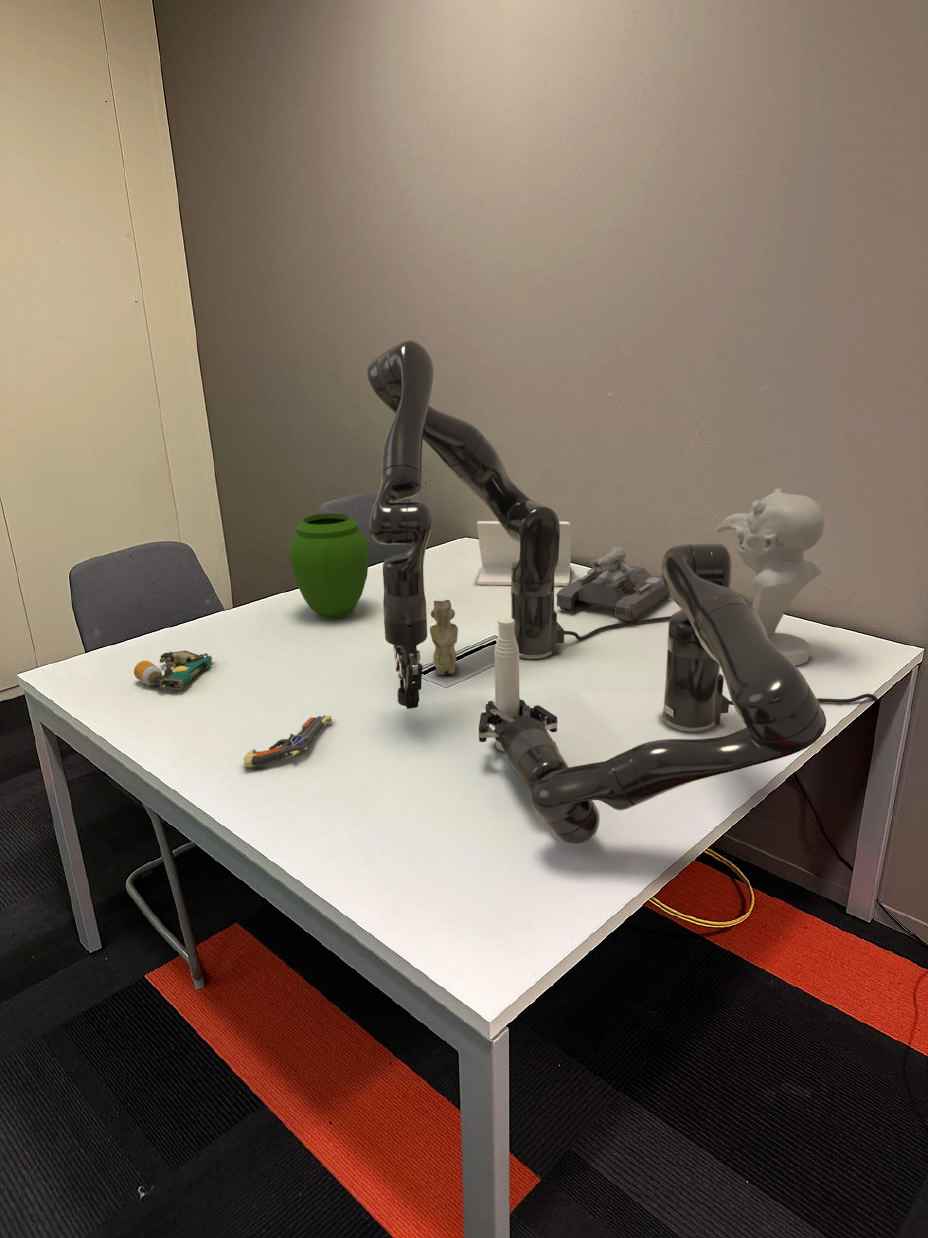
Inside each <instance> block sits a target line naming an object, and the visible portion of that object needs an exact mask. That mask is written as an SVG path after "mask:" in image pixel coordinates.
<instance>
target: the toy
mask: <svg viewBox="0 0 928 1238" xmlns="http://www.w3.org/2000/svg"><path fill="white" fill-rule="evenodd" d="M626 557H627V556H626V551H625V549H624V548H622V547H621V546H614V547H612V548H611V549H610V550H609V552H608V553H607V554H605V555H604V556H601V557H599V558H598V559H597V557H596V558H594V559H593V560H592V561H590V562H589V563H590V564H591V565H592V567H591V568H590V569H589V570H587V573H586V575H584V576H582V577H580V578H578V579H577V580H575V581H573V582H570V583H569V585H567V586H563V587H562V588H560V589H559V590H558V591H557V592H556V607H558V608H559V609H560V610H562V611H566V612H572V613H575V612H577V611H579V610H581V609H582V608H585V607H586V606H588V605H592V606H598V607H602V608H603V607H604V608H609V609H613V610H614V618H615V619H617V620H618V621H621V622H632V623H633V621H635V620H640V619H641V618H642V617H644V616H645V615H647V614H648V613H650V612H651V611H652V610H654V609H655V608H657V607H659V606H660V605H661V604H663V603H664V602H666V601H667V600H669V598H670V597H671V596H670V594H669V593H668V591H667V589H666V586H665V584H664V581H663V576H662V575H656V576H655V577H654V576H651V574H650V573H649V572H648V571H647V570H646V568H644V567H641V566H635V565H629V564H628V563H627V562H626V561H625V559H626Z"/></svg>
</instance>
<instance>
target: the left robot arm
mask: <svg viewBox="0 0 928 1238" xmlns="http://www.w3.org/2000/svg"><path fill="white" fill-rule="evenodd" d="M366 377H367V381H368V383H369V385H370V388H371V389H372V391H373V393H375V394H376V396H377V397H378V398H379V399H380V401H381V402H383V403H384V404H385V405H386V406H387V407H388V408H389V409H390V410H391V411H392V412H393V413H395V415H394V417H393V420H392V421H391V425H390V427H389V430H388V431H387V434H386V437H385V439H384V442H383V446H382V452H381V469H380V470H381V471H380V472H381V473H380V483H379V489H378V493H377V496H376V499H375V502H374V504H373V507H372V508H371V512H370V516H369V520H368V530H369V534H370V536H371V537H372V539H373V540H374V541H375V542H376V543H377V544H379V545H411V548H410V549H409V550H407V551H405V552H403V553H400V554H395V555H392V556H389V557H387V558H386V559H385V560H383V564H382V580H383V582H382V583H383V599H382V600H383V603H382V605H383V623H384V625H383V626H384V638H385V641H386V642H387V643H388V644H390V645H392V646H393V654H394V661H395V663H394V664H395V671H396V673H397V677H398V680H399V688H400V687H402V686H404V689H405V704H406V706H405V707H406V709H408V710H410V709H411V710H412V709H417V708H418V707H419V702H418V690H419V691H422V682H423V681H422V680H423V679H422V678H423V668H424V667H423V664H422V663H420V660H421V652H420V650H419V649H417V646H418V645H420V644H423V643H424V642H425V641H426V640H427V639H428V618H427V616H428V615H427V600H426V593H425V583H424V582H425V579H424V578H425V577H424V574H425V573H424V572H425V571H424V568H425V567H424V565H425V564H424V563H425V555H426V550H427V547H428V542H429V538H430V535H431V531H432V527H433V515H432V513H431V510H430V508H429V506H427V505H426V504H425V503H423V502H418V501H416V502H415V501H413V502H400V501H403V500H407V499H411V498H413V497H415V496H417V495H418V494H420V492H421V489H422V482H423V481H422V478H423V477H422V475H423V472H422V471H423V470H422V469H423V464H422V463H423V462H422V461H423V441H424V442H425V443H426V444H427V445H428V446H429V447H430V448H431V449H432V450H433V451H434V452H435V453H436V455H437V456H438V457H439V459H441V460H442V462H443V463H444V464H445V466H447V467H448V468H449V470H450V471H451V472H452V473H453V474H454V475H455V476H456V477H457V479H459V480H460V481H461V482H462V483H463V484H464V485H465V487H467V488H468V489H469V490H470V491H471V492H472V493H473V494H474V495H475V496H476V497H477V498H479V500H481V501H482V502H483V503H484V504H485V505H486V507H487V508H488V509H489V510H490V512H491V513H492V514H493V516H494V517H495V518H496V521H499V522H500V524H501V525H502V527H503V528H504V530H505V531H506V532H507V534H508V535H509V536H510V537H511V538H512V539H513V540H515V541H516V542H518V543H520V556H519V560H518V561H516V562H514V563H513V564H512V566H511V585H510V588H511V589H510V597H511V599H510V603H511V604H510V606H511V607H510V609H511V610H510V615H511V617H510V618H512V619H514V621H515V625H514V636H515V637H516V640H517V644H518V648H519V658H521V659H525V660H526V659H527V660H540V659H545V658H548V657H550V656H552V655H557V654H558V653H557V650H558V649H557V648H558V647H557V645H558V644H559V645H560V644H561V645H562V644H565V636H574V637H575V639H576V640H577V641H584V640H586V639H589V638H590V637H592V636H594V635H596V634H597V633H600V632H602V631H606V630H609V629H614V628H615V629H616V628H620V627H625V626H632V625H637V624H645V623H646V624H647V623H654V622H661V621H669V620H670V617H671V616H672V615H668V616H661V617H653V618H643V619H638V620H635V621H633V623H632V622H625V621H622V622H618V623H612V624H608V625H603V626H601V627H598V628H595V629H594V630H592V631H590V632H588V633H587V634H585V635H583V636H580V635H579V633H577V632H576V631H571V630H565V629H564V628H563V626H561V625H560V623H559V622H558V613H557V612H556V611H555V586H554V572H555V569H556V566H557V564H558V557H559V541H560V524H559V522H560V520H559V517H558V514H557V513H556V512H555V510H554V509H552V508H551V507H549V506H547V505H544V504H542V503H539V502H537V501H535V500H533V499H531V498H530V497H528V496H527V495H526V494H525V493H524V492H523V491H522V490H521V489H520V488H519V487H518V486H517V485H516V484H515V483H514V482H513V481H512V479H511V478H510V477H509V475H508V473H507V471H506V468H505V466H504V463H503V461H502V459H501V457H500V454H499V453H498V452H497V450H496V449H495V448H494V446H493V444H491V442H490V441H489V440H488V439H487V438H486V437H485V435H484V434H483V433H482V432H481V431H480V430H479V429H478V427H477V426H475V425H473V424H472V423H470V422H468V421H466V420H464V419H462V418H460V417H457V416H454V415H452V414H449V413H447V412H444V411H441V410H440V409H437V408H435V407H433V406H431V405H430V399H431V394H432V390H433V383H434V377H435V376H434V364H433V361H432V358H431V356H430V353H429V352H428V350H427V349H426V348H425V347H424V346H423V345H422V344H421V343H419V342H417V341H415V340H411V339H408V340H403V341H402V342H400V343H398V344H396V345H395V346H393V347H391V348H390V349H388V350H387V351H385V352H384V353H382V354H380V355H379V356H377V357H376V358H375V359H373V360H372V361H371V362H370V363H369V364H368V365H367V368H366Z"/></svg>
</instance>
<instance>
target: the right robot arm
mask: <svg viewBox="0 0 928 1238" xmlns="http://www.w3.org/2000/svg"><path fill="white" fill-rule="evenodd" d="M661 576H662V577H663V581H664V584H665V586H666V589H667V591H668V593H669V594H670V596H669V597H670V598H671V599H672V600H673V601H674V603H676V605H677V606H678V607H679V609H680V610H677V611H676V612H674V613H673V614H672V615H670V616H671V617H670V620H668V629H667V631H668V632H667V647H666V664H665V679H664V680H665V681H664V699H663V709H662V710H663V711H662V721H663V723H664V724H665V725H666V726H668V727H670V728H671V729H674V730H677V731H680V732H685V733H702V732H706V731H710V730H712V729H713V728H714V727H715V726H720V724H721V716H722V714H728V713H729V709H730V706H733V707H734V709H735V711H736V713H737V715H738V716H739V718H740V719H741V721H742V723H743V724H744V726H745V727H743V728H741V729H739V730H737V731H735V732H733V733H729V734H726V735H723V736H717V737H710V738H694V739H692V738H691V739H689V738H688V739H687V738H674V739H673V738H667V739H656V740H652V741H647V742H643V743H641V744H638V745H636V746H634V747H632V748H630V749H628V750H625V751H623V752H621V753H619V754H617V755H614V756H613V757H611V758H609V759H607V760H603V761H600V762H592V763H586V764H581V765H575V766H569V765H568V764H567V762H566V760H565V759H564V757H563V756H562V754H561V753H560V750H559V748H558V747H559V746H557V743H556V741H555V740H554V739H553V737H552V735H551V734H550V733H557V732H558V716H556V715H555V714H553V713H552V712H550V711H549V710H547V709H546V708H544V707H543V706H541V705H537V704H536V705H534V706H533V707H531V706H530V705H528V704H527V703H526V701H525V700H524V699H521V698H520V697H519V709H520V716H517V717H509V716H508V715H506V714H505V713H504V712H502V713H500V712H499V711H498V710H497V708H496V706H495V703H494V701H493V700H488V701H487V703H486V704H485V711H483V712H480V717H479V723H478V741H479V742H480V743H485V742H487V739H493V738H494V739H495V741H496V740H497V741H498V742H500V743H501V745H502V747H503V749H504V751H503V752H504V753H505V755H506V757H507V758H508V760H509V762H510V764H511V766H512V768H513V769H514V771H515V773H516V774H517V775H518V776H519V778H520V779H521V781H522V783H523V785H524V786H525V788H526V789H527V791H528V792H529V794H530V803H531V806H532V808H533V810H534V811H535V812H536V814H537V815H538V816H539V817H540V819H541V820H542V821H543V823H545V825H547V827H548V828H549V829H550V830H551V831H552V833H553V835H554V836H556V838H557V839H558V840H560V841H562V842H563V843H566V844H569V845H582V844H584V843H587V842H588V841H590V840H591V839H592V838H593V837H594V836H595V835H596V833H597V831H598V829H599V827H600V821H601V820H600V818H601V816H600V811H599V809H598V806H597V805H596V804H595V802H594V801H600V802H602V803H604V804H606V805H607V806H609V807H610V808H612V809H613V810H615V811H621V812H622V811H626V810H628V809H631V808H634V807H635V806H638V805H640V804H642V803H645V802H647V801H649V800H651V799H653V798H656V797H658V796H660V795H663V794H665V793H667V792H669V791H672V790H675V789H677V788H679V787H682V786H685V785H688V784H691V783H693V782H698V781H700V780H704V779H708V778H711V777H715V776H719V775H723V774H727V773H731V772H735V771H739V770H742V769H747V768H750V767H752V766H756V765H760V764H765V763H768V762H772V761H775V760H780V759H782V758H786V757H788V756H792V755H794V754H797V753H799V752H802V751H804V750H806V749H807V748H809V747H810V746H812V745H814V744H815V743H816V742H817V741H818V740H820V738H821V737H822V735H823V734H824V732H825V730H826V726H827V717H826V713H825V711H824V709H823V707H822V706H821V704H820V703H829V704H849V703H854V702H857V701H861V700H863V699H867V698H868V699H871V700H873V701H879V699H878V698H877V696H875V695H874V694H872V693H863V694H859V695H858V696H854V697H852V698H825V697H824V698H819V697H816V695H815V693H814V691H813V690H812V688H811V687H810V685H809V683H808V682H807V680H806V678H805V676H804V675H803V673H802V672H801V671H800V670H799V668H798V667H797V665H796V666H795V665H794V664H793V663H792V662H790V661H789V660H788V659H787V658H786V657H785V656H784V655H783V654H782V653H781V652H780V651H779V650H778V649H777V648H776V647H775V646H774V645H773V644H772V643H771V642H770V640H769V639H768V637H767V630H766V628H765V625H764V623H763V621H762V620H761V618H760V616H759V615H758V613H757V612H756V611H755V609H754V608H753V606H752V603H751V602H750V601H749V599H748V598H746V597H744V596H743V595H742V594H740V593H739V592H738V591H735V590H733V589H731V588H730V586H731V578H732V557H731V553H730V551H729V549H728V548H727V546H726V545H724V544H722V543H690V544H689V543H688V544H687V543H686V544H685V543H684V544H683V543H682V544H678V545H674V546H671V547H670V548H668V549H667V550H666V552H665V553H664V555H663V558H662V562H661ZM720 671H721V672H722V673H720ZM724 683H725V684H726V687H727V690H728V694H729V697H730V700H729V698H727V696H726V695H724V694H723V693H724ZM490 725H491V726H492V727H493V728H494V729H492V727H491V726H490ZM549 732H550V733H549Z"/></svg>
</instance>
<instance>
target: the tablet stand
mask: <svg viewBox="0 0 928 1238" xmlns="http://www.w3.org/2000/svg"><path fill="white" fill-rule="evenodd" d="M559 524H560V541H559V557H558V564H557V566H556V569H555V572H554V587H556V586H557V587H566V586H567V585H569V584H570V580H571V579H570V578H571V565H572V564H571V560H572V558H571V522H569V521H559ZM476 531H477V537H478V544H479V551H480V557H481V558H480V559H481V570H480V573H479V575H478V577H477V580H476V581H477V582H476V584H478V585H484V586H485V585H486V586H487V585H489V586H490V585H491V586H511V566H512V564H513V563H514V562H516V561H518V560H519V556H520V543H518V542H516V541H515V540H513V539H512V538H511V537H510V536H509V535H508V534H507V532H506V531H505V530H504V528H503V527H502V525H501V524H500V522H499V521H498V520H477V522H476Z"/></svg>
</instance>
